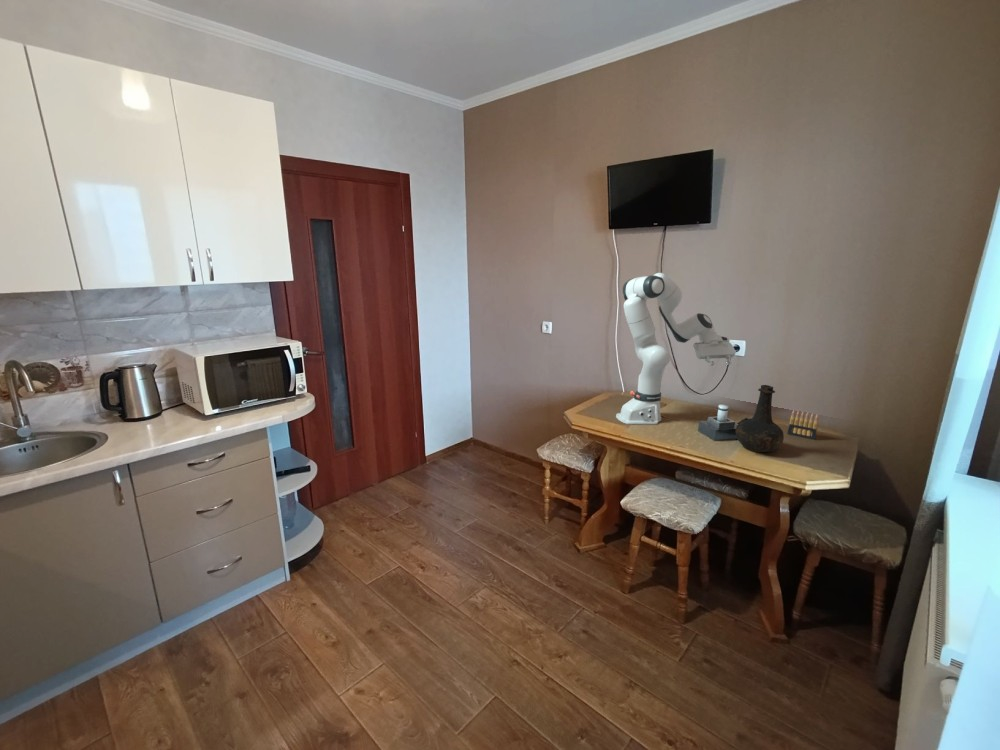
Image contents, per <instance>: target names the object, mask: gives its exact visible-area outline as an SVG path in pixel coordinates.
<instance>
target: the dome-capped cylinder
mask: <svg viewBox="0 0 1000 750" xmlns="http://www.w3.org/2000/svg"><path fill="white" fill-rule="evenodd" d="M728 413H729V405H728V404H727V405H726V404H718V407H717V421H719V422H727V418H728Z"/></svg>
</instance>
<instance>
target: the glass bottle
mask: <svg viewBox="0 0 1000 750" xmlns="http://www.w3.org/2000/svg"><path fill="white" fill-rule="evenodd" d="M757 390H758V391H759V396H758V402H757V405H756V408H755V412H754V414H753V416H752V417H751V418H748V417H744V418H743V419H741V420H740V421H738V422H737V423H736V425H737V427H736V431H735V432H736V437H737V439H736V440H737V441H738V442H739V443H740V444H741V445H742V446H743V447H744V448H746V449H747V450H749V451H752V452H757V453H768V452H772V451H774V450H776V449H778V448H779V447H780V446H781V445H782V444H783V441H784V439H785V438H784V437H785V436H784V431H783V429H782V428H781V427H780V426H779V425H778V424H777V423H775V422H774V420H773V418H772V415H773V414H772V403H773V402H772V400H773V394H775V393H776V391H775V390H774V386H772V385H768V384H762V385H761V384H760V387H759V388H758V389H757Z"/></svg>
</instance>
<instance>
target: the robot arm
mask: <svg viewBox="0 0 1000 750" xmlns="http://www.w3.org/2000/svg"><path fill="white" fill-rule="evenodd" d="M622 295H623V299H624V300H625V301H624V303H623V312H624V315H625V320H626V323H627V325H628V328H629V331H630V334H631V336H632V339H633V343H634V344H633V345H634V349H635V355H636V357H637V358H638V360H640V361H641V362H642V368H641V371H640V373H639V374H638V380H637V390H636V391H633V390H631V391H630V392H629V394H630V395H632V396H633V397H632V398H631V399H630V400H629V401H627V402H625V404H623V405H622V407H621V409H620V412H617V413H616V415H615V418H616V419H617V420H618V421H620V422H621V423H623V424H626V425H658V424H659V422H660V421H662V415H661V414H662V413H661V400H662V399H661V398H662V391H661V390H662V389H661V388H662V381H663V380H662V379H663V375H664V372H665V368H666V367H667V366H668V364H669V363H670V359H671V356H670V354H669V352H668V350H667V348H665V347H663V346H661V345H660V344H659V343H658V342H657V339H656V327H655V325H654V321H653V319H652V317H651V316H652V315H651V314H650V311H649V309H648V306H647V300H650V299H655V298H656V300H657V301H658V302H659V307H658V310H659V313H660V315H661V317H662V319H663V321H664V322H665V323H666V325H667V327H668V328H669V329H670V331H671V333H672V336H673V338H674V339H675V341H676V342H678V343H682V344H684V343H685V344H686V343H687V342H688V341H690V340H691V339H692V338H695V337H696V336H698V337H699V342H698V341H697V342H695V343H693V348H694V353H695V356H696V358H697V359H698V360H704V361H706V363H708V364H709V366H710V367H711V366H714V365H715V362H714V360H712V359H726V361H725V364H726V365H729V366H730V365H731V364H732V361H731V358H733V357H735V355H736V350H735V347H734V346H733V344H732V343H731V342H730V339H729V337H728V336H727V337H726V336H722V335H721V334H720V335H719V334H718V332H716V330H715V326H714V324H713V322H712V320H711V318H710V317H709V316H708V315H707V314H705V313H695V314H694V315H692V316H690V317H689V318H688V319H686V320H684V321H682V322H680V323H678V322H677V321H676V319H675V318H674V316H673V312H674V311H675V310H676V309H677V307H678V306H679V304H680V303H681V301H682V298H683V291H682V290H681V288H680V287H679V286H678V284H677V283H676V282H675V281H674V280H673V279H672V278H670V277H669V276H668V275H667V274H665V273H663V272H657V273H654V274H653V275H645V276H638V277H635V278H631V279H629V280H627V281H625V282H624V284H623V285H622Z"/></svg>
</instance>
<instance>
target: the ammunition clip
mask: <svg viewBox="0 0 1000 750" xmlns="http://www.w3.org/2000/svg"><path fill="white" fill-rule="evenodd" d="M809 416H810V418H809ZM788 424H789V425H788V428H787V429H788V430H787V433H786V434H787V435H789V436H794V437H799V438H804V439H809V440H814V441H815V440H816V439H817V431H818V426H819V413H816V415H815V417H814V413H813V412H812V413H811V415H810V413H809V411H808V412H806V414H805V413H804V410H803V411H801V414H800V410H797V412H796V411H795V409H793V410H792V412H791V416H790V419H789V423H788Z"/></svg>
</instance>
